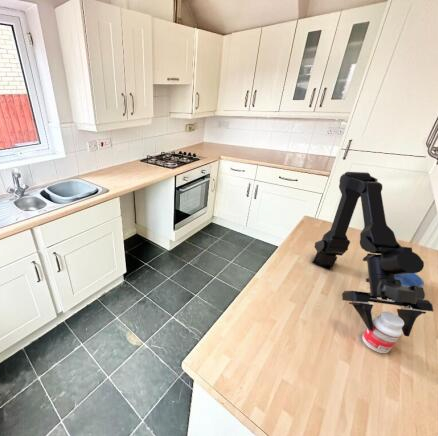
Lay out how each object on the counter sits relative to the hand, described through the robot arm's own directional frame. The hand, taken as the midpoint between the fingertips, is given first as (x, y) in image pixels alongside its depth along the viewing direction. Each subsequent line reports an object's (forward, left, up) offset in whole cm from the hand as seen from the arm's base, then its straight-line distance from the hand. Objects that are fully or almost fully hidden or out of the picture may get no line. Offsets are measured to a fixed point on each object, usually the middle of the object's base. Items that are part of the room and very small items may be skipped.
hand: (388, 333), depth 66 cm
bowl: (0, +37, -7) cm, 38 cm away
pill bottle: (-1, +1, -7) cm, 7 cm away
